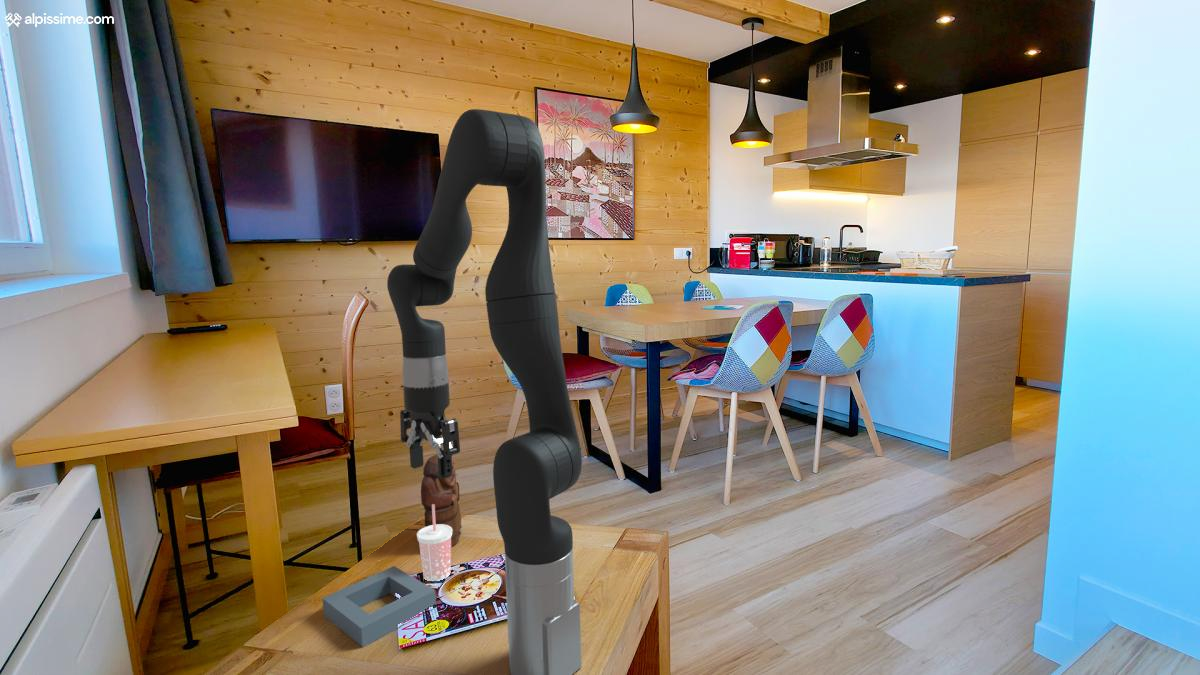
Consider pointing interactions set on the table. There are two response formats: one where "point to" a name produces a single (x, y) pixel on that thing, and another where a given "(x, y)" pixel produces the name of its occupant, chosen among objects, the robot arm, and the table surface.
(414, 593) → the hole plate
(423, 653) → the table surface
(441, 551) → the beverage cup
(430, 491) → the wooden figurine
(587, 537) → the table surface
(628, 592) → the table surface
